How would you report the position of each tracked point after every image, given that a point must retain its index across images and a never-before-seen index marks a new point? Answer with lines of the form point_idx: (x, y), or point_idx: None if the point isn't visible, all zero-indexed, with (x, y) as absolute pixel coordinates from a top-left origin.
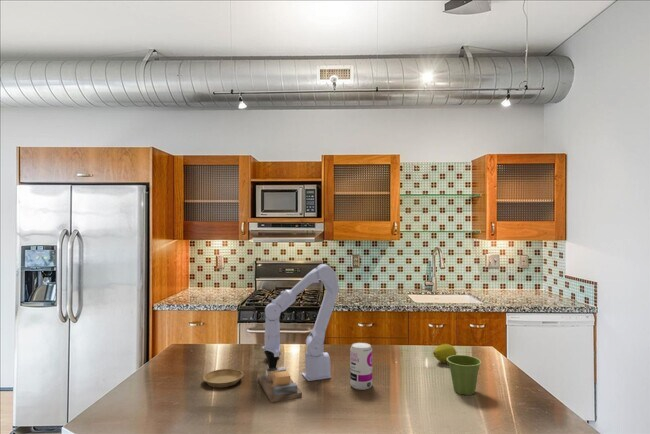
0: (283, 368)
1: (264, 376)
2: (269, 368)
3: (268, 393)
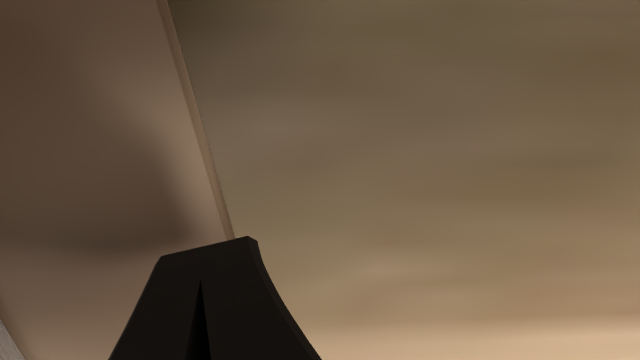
0: None
1: (128, 51)
2: (171, 278)
3: None
